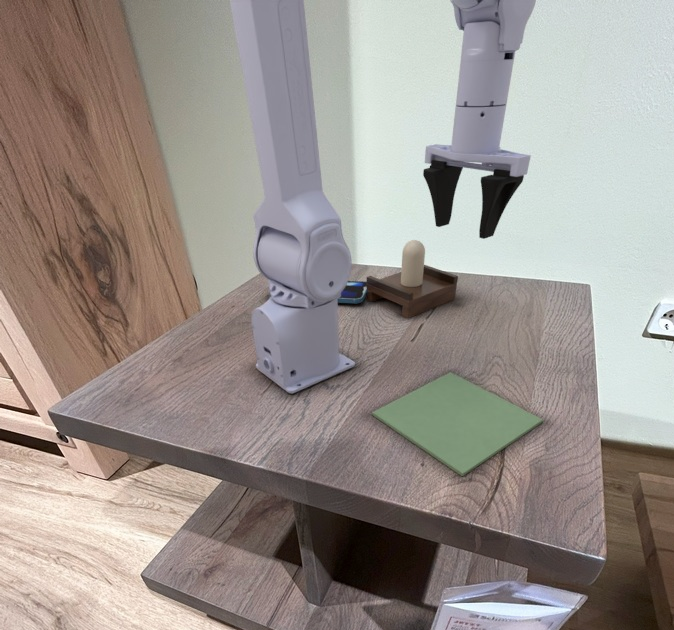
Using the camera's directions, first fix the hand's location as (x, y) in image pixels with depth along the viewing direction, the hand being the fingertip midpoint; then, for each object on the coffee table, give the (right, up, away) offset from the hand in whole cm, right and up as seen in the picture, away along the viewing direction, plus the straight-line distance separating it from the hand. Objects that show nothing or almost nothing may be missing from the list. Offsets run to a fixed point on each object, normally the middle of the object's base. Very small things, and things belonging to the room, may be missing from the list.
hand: (463, 230), depth 61 cm
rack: (-6, -7, +8) cm, 12 cm away
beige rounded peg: (-6, -5, +6) cm, 10 cm away
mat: (-5, -27, -15) cm, 31 cm away
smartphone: (-20, -5, +10) cm, 23 cm away
